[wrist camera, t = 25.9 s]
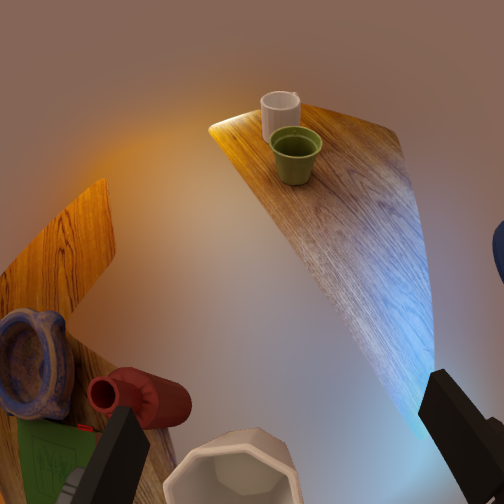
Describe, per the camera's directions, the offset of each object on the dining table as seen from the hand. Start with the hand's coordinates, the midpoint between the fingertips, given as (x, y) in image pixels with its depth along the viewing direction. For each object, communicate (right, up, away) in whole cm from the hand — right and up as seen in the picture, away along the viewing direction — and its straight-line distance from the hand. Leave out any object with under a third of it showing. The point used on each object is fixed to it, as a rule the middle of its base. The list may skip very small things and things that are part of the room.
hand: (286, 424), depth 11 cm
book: (-30, -31, +17) cm, 46 cm away
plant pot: (+7, +22, +45) cm, 51 cm away
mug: (+6, +34, +53) cm, 63 cm away
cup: (-2, -21, +21) cm, 30 cm away
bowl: (-35, -14, +28) cm, 47 cm away
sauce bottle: (-13, -14, +25) cm, 32 cm away
